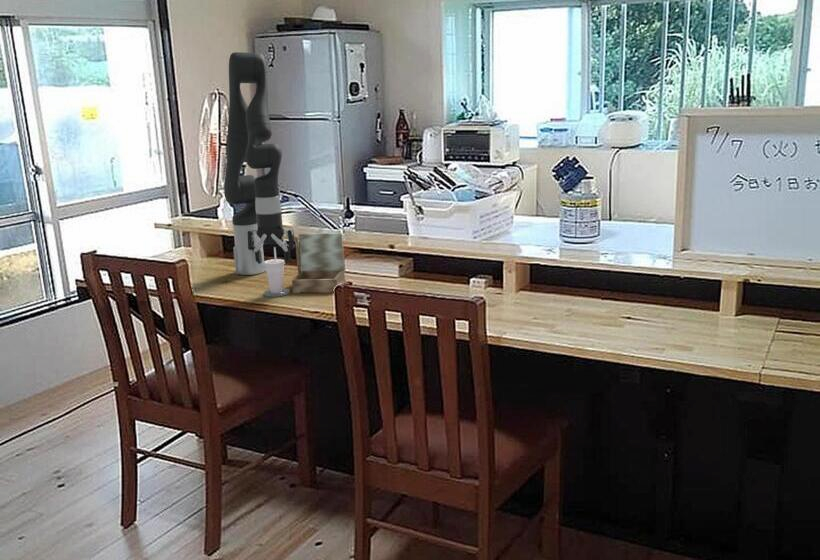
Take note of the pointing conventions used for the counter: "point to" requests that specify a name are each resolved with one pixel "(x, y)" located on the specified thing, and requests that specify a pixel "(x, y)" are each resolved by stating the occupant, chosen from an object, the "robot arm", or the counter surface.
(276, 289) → the smoothie
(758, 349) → the counter surface
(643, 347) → the counter surface
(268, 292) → the coaster
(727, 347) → the counter surface
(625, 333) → the counter surface
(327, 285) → the cold frame
